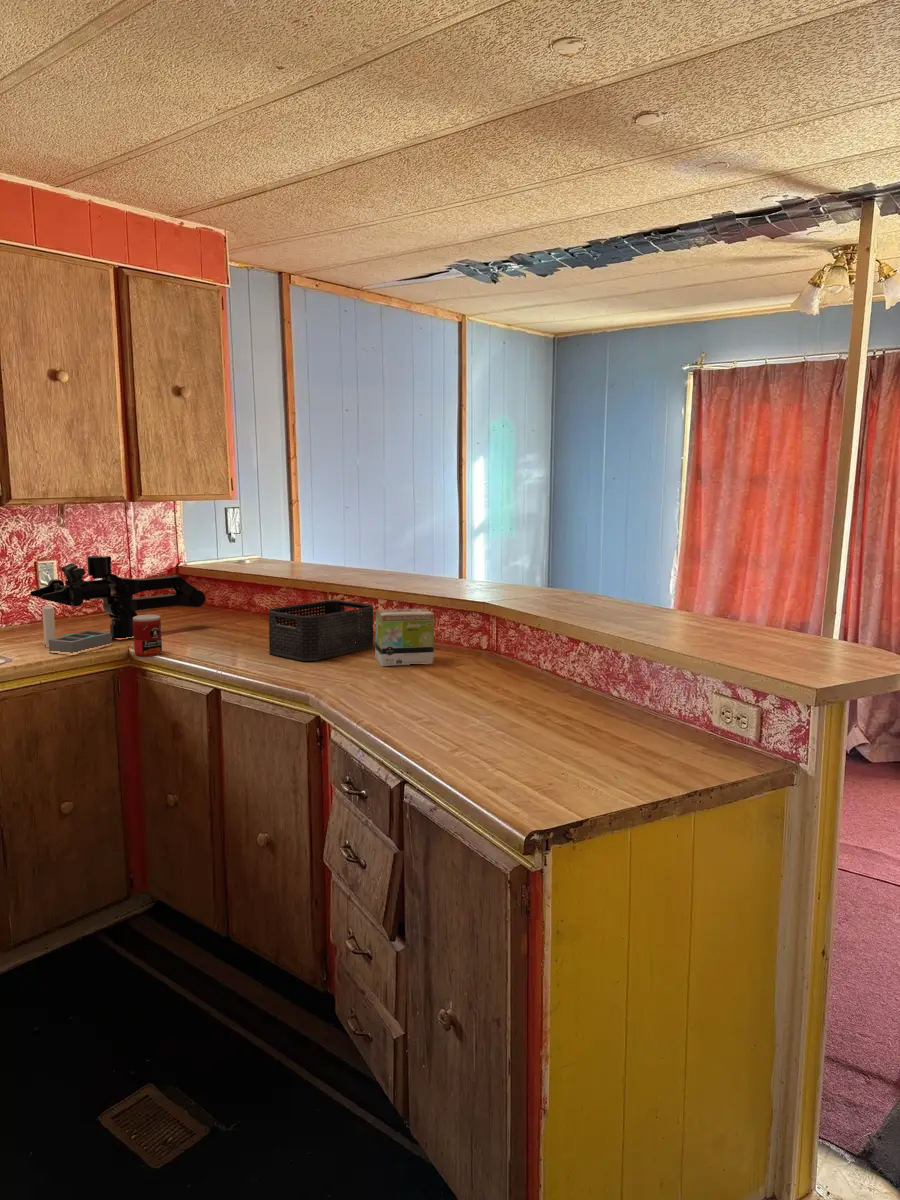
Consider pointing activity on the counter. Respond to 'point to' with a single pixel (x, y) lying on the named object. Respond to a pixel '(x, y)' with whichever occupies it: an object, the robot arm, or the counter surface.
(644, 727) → the counter surface
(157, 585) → the robot arm
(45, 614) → the block
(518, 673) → the counter surface
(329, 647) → the storage bin
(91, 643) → the frame
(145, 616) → the canned food
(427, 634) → the tea box
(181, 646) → the counter surface
